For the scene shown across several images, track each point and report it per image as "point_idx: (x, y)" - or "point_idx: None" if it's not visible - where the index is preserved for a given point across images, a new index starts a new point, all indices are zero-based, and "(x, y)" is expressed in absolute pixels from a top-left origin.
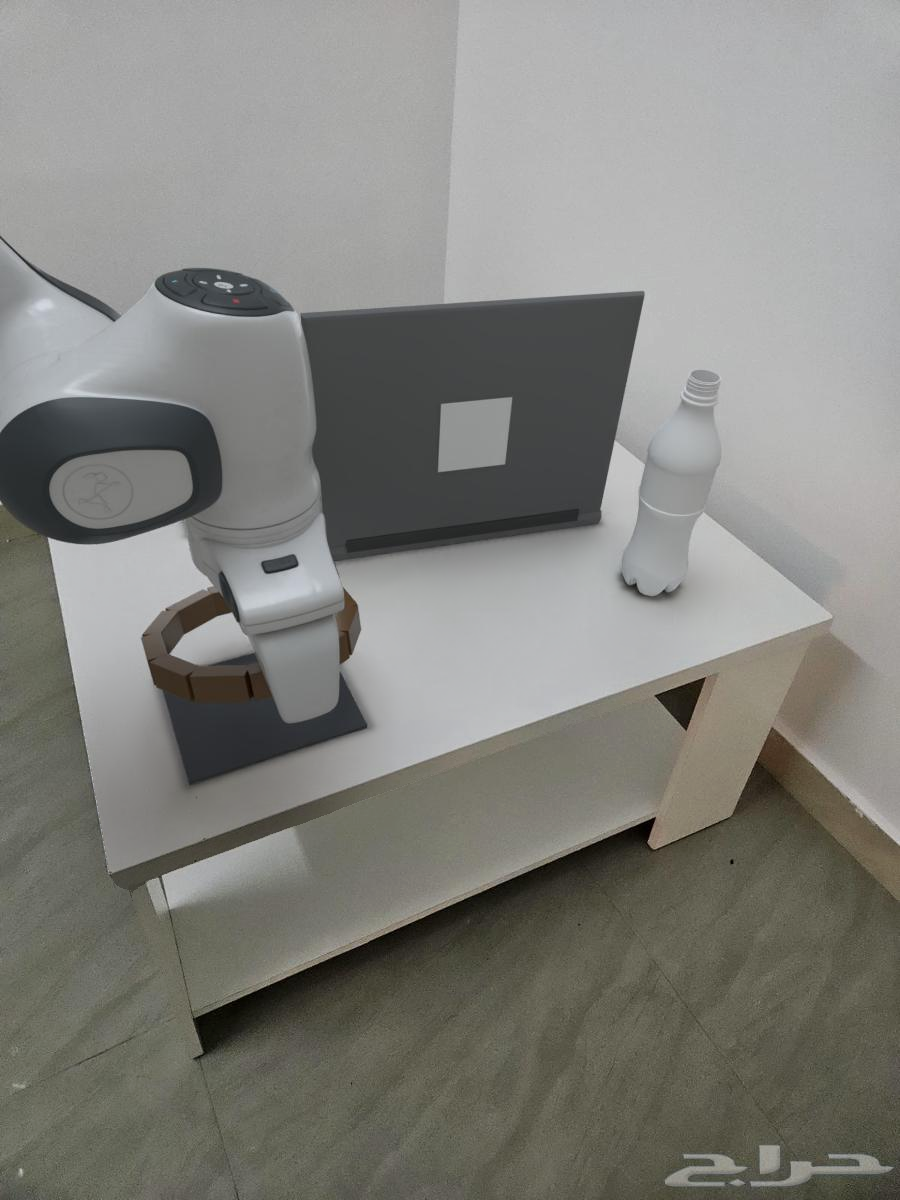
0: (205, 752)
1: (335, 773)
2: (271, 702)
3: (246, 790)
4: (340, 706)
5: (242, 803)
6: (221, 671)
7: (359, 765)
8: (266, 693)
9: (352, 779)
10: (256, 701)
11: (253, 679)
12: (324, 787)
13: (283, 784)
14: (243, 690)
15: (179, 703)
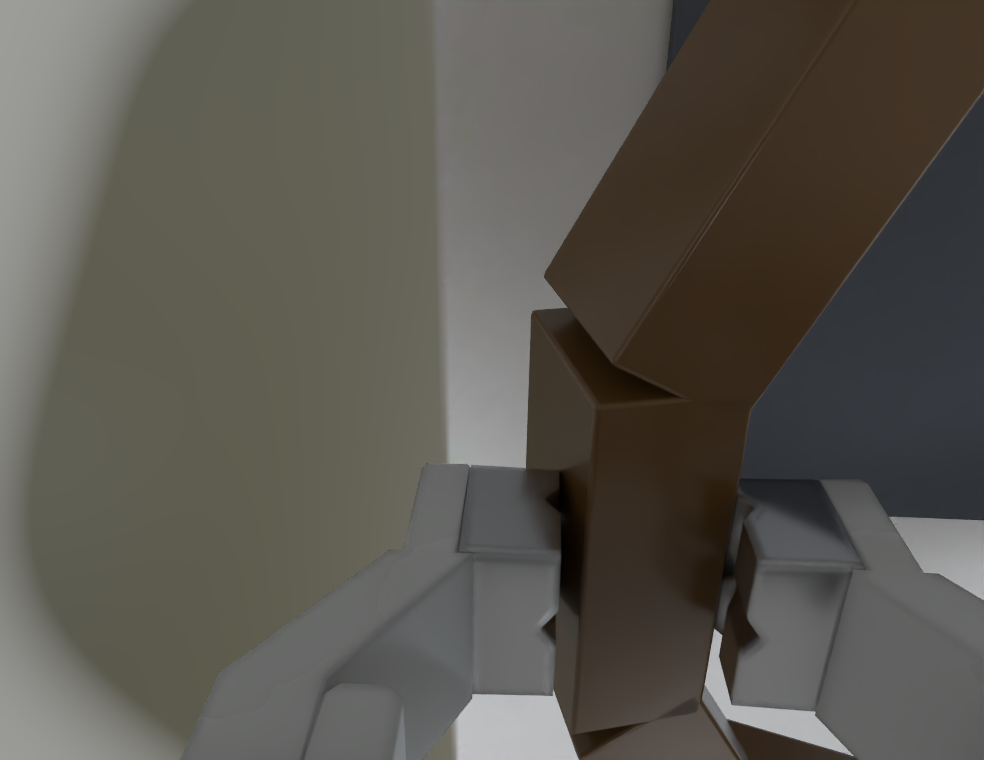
0: None
1: (495, 351)
2: (906, 265)
3: (559, 46)
4: (744, 464)
5: (507, 13)
6: (803, 205)
7: (494, 425)
8: (536, 398)
9: (451, 388)
10: (948, 214)
11: (582, 402)
12: (456, 302)
13: (525, 182)
14: (587, 287)
15: None
